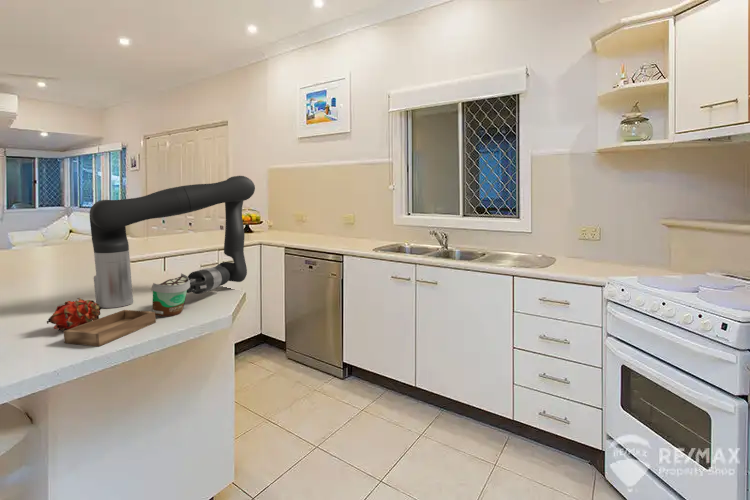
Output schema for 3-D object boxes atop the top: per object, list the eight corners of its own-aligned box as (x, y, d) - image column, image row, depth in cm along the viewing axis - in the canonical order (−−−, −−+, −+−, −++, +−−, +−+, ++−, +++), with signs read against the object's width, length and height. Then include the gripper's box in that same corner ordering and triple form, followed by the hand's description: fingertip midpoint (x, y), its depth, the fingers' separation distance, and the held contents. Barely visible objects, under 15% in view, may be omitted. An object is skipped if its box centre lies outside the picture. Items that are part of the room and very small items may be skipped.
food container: (166, 322, 110) (170, 289, 108) (148, 316, 111) (151, 283, 109) (196, 308, 122) (200, 278, 120) (178, 302, 123) (182, 272, 121)
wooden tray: (64, 343, 94) (63, 331, 93) (125, 320, 111) (124, 309, 110) (99, 346, 92) (98, 334, 91) (155, 322, 109) (155, 311, 109)
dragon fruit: (107, 328, 109) (55, 347, 100) (93, 306, 112) (41, 323, 103) (108, 308, 104) (53, 326, 95) (93, 286, 107) (38, 302, 98)
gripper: (186, 268, 134) (147, 277, 117) (222, 270, 131) (187, 280, 114) (187, 290, 135) (148, 302, 118) (223, 292, 132) (188, 305, 115)
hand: (168, 291), depth 116 cm, fingers closed on food container, 1 cm apart
